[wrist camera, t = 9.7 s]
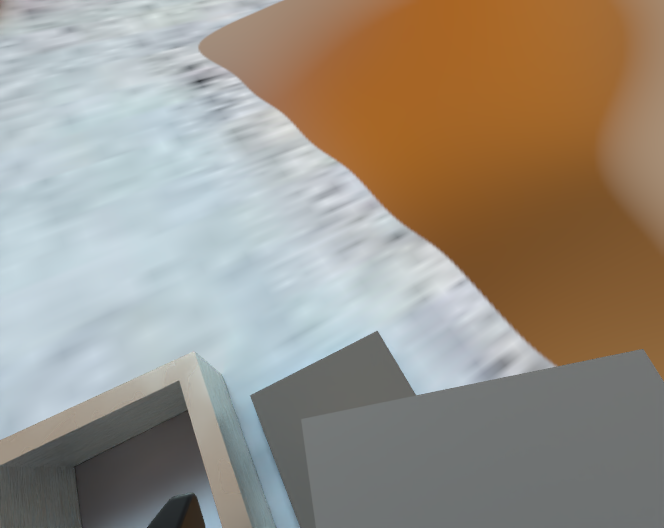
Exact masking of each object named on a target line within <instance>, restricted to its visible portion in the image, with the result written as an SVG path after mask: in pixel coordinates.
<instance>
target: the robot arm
mask: <svg viewBox="0 0 664 528" xmlns="http://www.w3.org/2000/svg"><path fill="white" fill-rule="evenodd" d="M147 528H205V523H204V519H203V516H202V513H201V509H200V506H199V503H198V500H197V497H196V495H195V494H194V493H187V494H182V495H178V496H174V497H172V498H171V499H170V500H169V501H168V502H167V503H166V504H165V505H164V507H163V508H162V509H161V510H160V512H159V513H158V514H157V515H156V517H155V518H154V519H153V521H152V522H151V523H150V524H149V526H148V527H147Z"/></svg>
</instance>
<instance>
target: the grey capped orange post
mask: <svg viewBox="0 0 664 528" xmlns="http://www.w3.org/2000/svg"><path fill="white" fill-rule="evenodd" d="M301 423H302V430H303V437H304V444H305V452H306V459H307V466H308V474H309V481H310V488H311V495H312V503H313V510H314V517H315V525H316V528H664V382H663V380H662V378H661V377H660V375H659V374H658V372H657V370H656V369H655V367H654V365H653V364H652V362H651V361H650V359H649V357H648V356H647V354H646V353H645V351H644V350H643V349H641V350H636V351H631V352H626V353H621V354H616V355H612V356H607V357H602V358H597V359H592V360H587V361H583V362H578V363H573V364H568V365H563V366H558V367H553V368H548V369H543V370H538V371H533V372H529V373H524V374H519V375H514V376H509V377H504V378H499V379H494V380H489V381H485V382H480V383H475V384H470V385H465V386H460V387H455V388H450V389H446V390H441V391H436V392H431V393H426V394H421V395H416V396H411V397H407V398H402V399H397V400H392V401H387V402H382V403H377V404H372V405H367V406H363V407H358V408H353V409H348V410H343V411H338V412H333V413H328V414H324V415H319V416H314V417H309V418H304V419H301Z"/></svg>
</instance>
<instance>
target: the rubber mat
mask: <svg viewBox="0 0 664 528" xmlns="http://www.w3.org/2000/svg"><path fill="white" fill-rule="evenodd" d="M250 396H251V399H252V402H253V404H254V407H255V409H256V412H257V415H258V417H259V420H260V423H261V425H262V428H263V430H264V433H265V436H266V438H267V441H268V444H269V446H270V449H271V451H272V454H273V457H274V459H275V462H276V465H277V467H278V470H279V472H280V475H281V478H282V480H283V483H284V486H285V488H286V491H287V493H288V496H289V499H290V501H291V504H292V507H293V509H294V512H295V515H296V517H297V520H298V522H299V525H300V528H316V525H315V517H314V510H313V503H312V495H311V488H310V481H309V474H308V466H307V459H306V452H305V444H304V437H303V430H302V423H301V419H304V418H309V417H314V416H319V415H324V414H328V413H333V412H338V411H343V410H348V409H353V408H358V407H363V406H367V405H372V404H377V403H382V402H387V401H392V400H397V399H402V398H407V397H411V396H416V395H415V393H414V391H413V390H412V388H411V386H410V384H409V383H408V381H407V379H406V378H405V376H404V374H403V373H402V371H401V369H400V368H399V366H398V364H397V363H396V361H395V359H394V358H393V356H392V354H391V353H390V351H389V349H388V348H387V346H386V344H385V343H384V341H383V339H382V338H381V336H380V334H379V333H378V331H376V332H374V333H372V334H370V335H368V336H366V337H364V338H362V339H360V340H358V341H356V342H355V343H353V344H351V345H349V346H347V347H345V348H343V349H341V350H339V351H337V352H335V353H333V354H331V355H329V356H327V357H325V358H323V359H321V360H319V361H317V362H315V363H313V364H311V365H309V366H307V367H305V368H303V369H301V370H299V371H297V372H296V373H294V374H292V375H290V376H288V377H286V378H284V379H282V380H280V381H278V382H276V383H274V384H272V385H270V386H268V387H266V388H264V389H262V390H260V391H258V392H256V393H254V394H252V395H250Z"/></svg>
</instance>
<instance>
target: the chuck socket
mask: <svg viewBox="0 0 664 528" xmlns="http://www.w3.org/2000/svg"><path fill="white" fill-rule="evenodd" d="M186 410H188V412H189V415H190V419H191V422H192V426H193V429H194V432H195V436H196V439H197V443H198V446H199V449H200V453H201V456H202V460H203V463H204V466H205V470H206V473H207V477H208V480H209V483H210V487H211V490H212V494H213V497H214V500H215V504H216V507H217V511H218V514H219V518H220V521H221V524H222V528H276V526H275V524H274V521H273V518H272V515H271V512H270V509H269V507H268V504H267V501H266V498H265V495H264V492H263V490H262V487H261V484H260V481H259V478H258V475H257V473H256V470H255V467H254V464H253V461H252V458H251V456H250V453H249V450H248V447H247V444H246V441H245V439H244V436H243V433H242V430H241V427H240V424H239V422H238V419H237V416H236V413H235V410H234V408H233V405H232V402H231V399H230V396H229V393H228V391H227V388H226V385H225V382H224V379H223V376H222V374H221V373H219V372H218V371H217V370H216V369H215V368H214V367H212V366H211V365H210V364H209V363H208V362H207V361H205V360H204V359H203V358H202V357H201V356H200V355H198V354H197V353H196V352H195V351H193V352H191V353H189V354H187V355H185V356H182V357H180V358H178V359H176V360H174V361H172V362H169V363H167V364H165V365H163V366H161V367H159V368H156V369H154V370H152V371H150V372H148V373H146V374H143V375H141V376H139V377H137V378H135V379H132V380H130V381H128V382H126V383H124V384H122V385H119V386H117V387H115V388H113V389H111V390H109V391H106V392H104V393H102V394H100V395H98V396H96V397H93V398H91V399H89V400H87V401H85V402H83V403H80V404H78V405H76V406H74V407H72V408H69V409H67V410H65V411H63V412H61V413H59V414H56V415H54V416H52V417H50V418H48V419H46V420H43V421H41V422H39V423H37V424H35V425H33V426H30V427H28V428H26V429H24V430H22V431H19V432H17V433H15V434H13V435H11V436H9V437H6V438H4V439H2V440H0V528H82V523H81V515H80V508H79V501H78V493H77V486H76V479H75V472H74V466H76V465H78V464H80V463H82V462H84V461H86V460H88V459H90V458H92V457H94V456H96V455H98V454H100V453H102V452H104V451H106V450H108V449H110V448H112V447H114V446H116V445H118V444H120V443H122V442H124V441H126V440H128V439H130V438H132V437H134V436H136V435H138V434H140V433H142V432H144V431H146V430H148V429H150V428H152V427H154V426H156V425H158V424H160V423H162V422H164V421H166V420H168V419H170V418H172V417H174V416H176V415H178V414H180V413H182V412H184V411H186Z"/></svg>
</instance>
